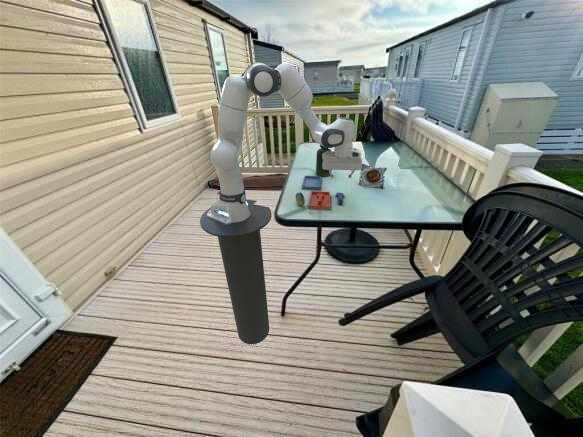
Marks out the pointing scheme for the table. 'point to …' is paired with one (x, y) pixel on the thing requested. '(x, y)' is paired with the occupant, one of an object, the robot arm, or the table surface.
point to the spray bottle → (321, 162)
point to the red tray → (314, 200)
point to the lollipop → (300, 199)
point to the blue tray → (312, 182)
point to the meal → (372, 176)
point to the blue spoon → (340, 197)
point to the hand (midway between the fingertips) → (340, 177)
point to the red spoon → (320, 198)
